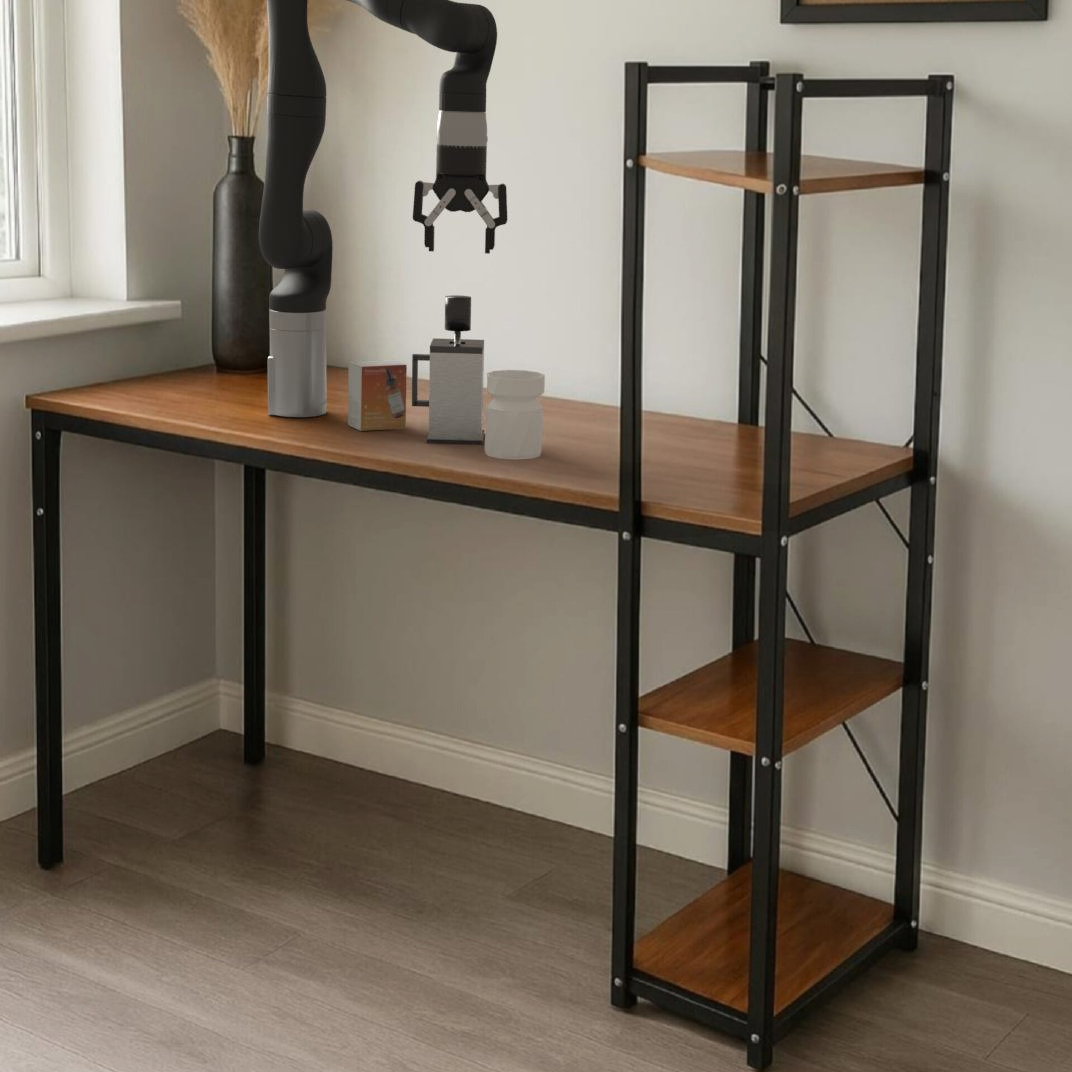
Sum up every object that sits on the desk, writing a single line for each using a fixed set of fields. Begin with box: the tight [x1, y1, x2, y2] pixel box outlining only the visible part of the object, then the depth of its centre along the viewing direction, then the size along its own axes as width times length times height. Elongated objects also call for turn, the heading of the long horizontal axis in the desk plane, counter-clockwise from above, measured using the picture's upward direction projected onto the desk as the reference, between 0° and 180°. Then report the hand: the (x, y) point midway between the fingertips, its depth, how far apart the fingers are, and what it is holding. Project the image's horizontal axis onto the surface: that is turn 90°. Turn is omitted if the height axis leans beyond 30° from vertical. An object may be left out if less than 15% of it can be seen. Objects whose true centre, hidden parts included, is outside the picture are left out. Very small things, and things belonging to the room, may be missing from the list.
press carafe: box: [411, 338, 485, 446], centre depth 261 cm, size 11×9×15 cm
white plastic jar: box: [484, 369, 546, 461], centre depth 252 cm, size 9×9×12 cm
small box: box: [347, 359, 408, 432], centre depth 268 cm, size 8×6×10 cm
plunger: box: [444, 294, 472, 344], centre depth 260 cm, size 5×5×21 cm
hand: (459, 252), depth 255 cm, fingers open, 8 cm apart
